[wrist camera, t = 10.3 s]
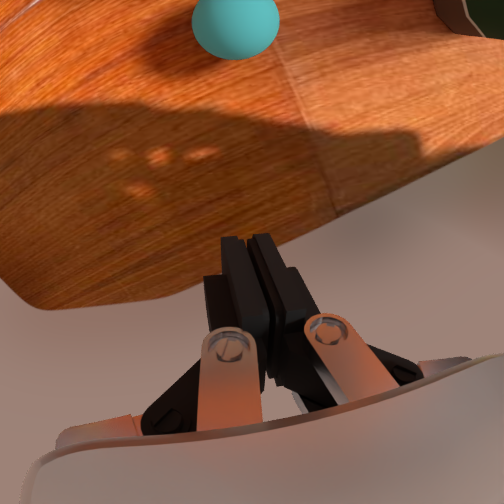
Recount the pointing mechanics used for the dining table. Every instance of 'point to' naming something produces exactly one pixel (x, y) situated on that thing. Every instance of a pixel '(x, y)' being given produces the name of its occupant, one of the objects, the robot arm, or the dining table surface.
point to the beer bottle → (473, 17)
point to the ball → (235, 27)
